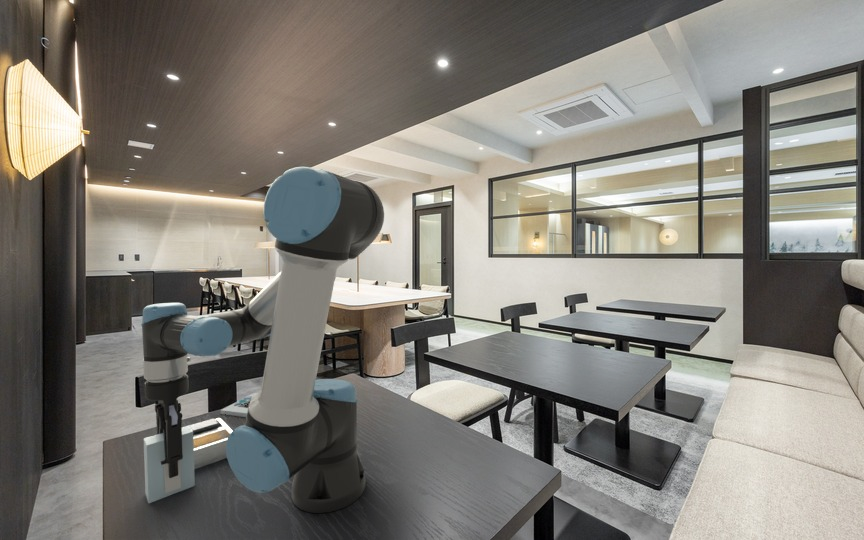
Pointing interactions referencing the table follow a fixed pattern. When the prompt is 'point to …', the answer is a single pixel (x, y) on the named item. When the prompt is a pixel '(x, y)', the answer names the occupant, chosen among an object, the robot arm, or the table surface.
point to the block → (156, 471)
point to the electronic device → (238, 407)
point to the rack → (209, 441)
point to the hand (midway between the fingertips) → (170, 484)
